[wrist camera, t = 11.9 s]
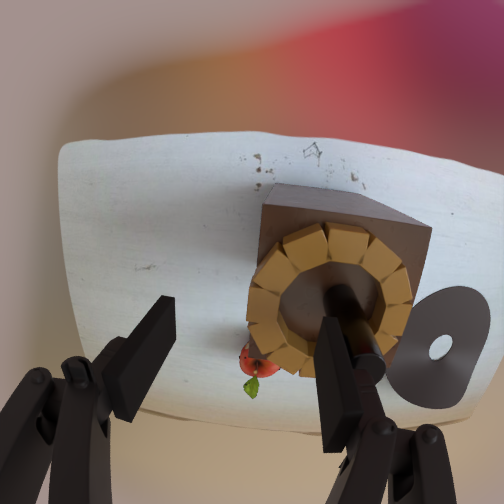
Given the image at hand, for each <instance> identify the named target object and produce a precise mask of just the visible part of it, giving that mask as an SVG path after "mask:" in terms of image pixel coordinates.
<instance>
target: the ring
mask: <svg viewBox="0 0 504 504" xmlns="http://www.w3.org/2000/svg"><path fill="white" fill-rule="evenodd" d="M329 261H331V262H339V263H347V264H355V265H359V266H360V267H362V268H363V269H364V270H365V271H366V272H368V273H369V274H370V275H371V276H372V277H374V281H375V284H376V288H377V291H378V297H377V301H376V304H375V308H374V311H373V314H372V317H371V319H370V320H369V321H368V322H369V325H370V327H371V329H372V331H373V334H374V336H375V338H376V340H377V343H378V345H379V347H380V350H381V352H382V355H384V354H385V353H386V352H388V351H389V350H390V349H391V348H392V347H393V346H394V345H395V344H396V343H397V342H398V340H397V338H396V336H402V334H403V331H404V328H405V326H406V323H407V320H408V317H409V314H410V311H411V308H412V304H411V302H410V301H409V300H411V299H412V298H413V297H412V292H411V287H410V283H409V278H408V274H407V270H406V267H405V266H404V265H403V264H402V263H401V262H402V260H401V259H400V258H399V257H398V256H397V255H396V254H395V253H394V252H393V251H392V250H390V249H389V248H388V247H387V246H386V245H385V244H384V243H383V242H382V241H380V240H379V239H378V238H377V237H376V236H375V235H374V234H372V233H371V232H370V231H369V230H367V232H366V231H365V230H364V229H363V228H362V227H358V226H351V225H345V224H338V223H331V222H326V223H325V228H324V232H323V230H322V228H321V226H320V224H319V223H316V224H314V225H311V226H309V227H306V228H304V229H302V230H299V231H297V232H294V233H292V234H289V235H287V236H284V237H283V245H282V244H281V243H279V242H276V244H275V245H274V246H273V248H272V249H271V250H270V251H269V253H268V254H267V255H266V257H265V258H264V259H263V260H262V262H261V263H260V264H259V266H258V267H257V268H256V270H255V273H254V275H253V277H252V280H251V283H250V287H249V295H248V305H247V315H246V321H249V322H248V326H247V327H248V329H249V331H250V333H251V335H252V337H253V339H254V340H255V342H256V344H257V346H258V348H259V350H260V352H261V353H262V354H266V353H267V357H266V359H267V360H269V361H271V362H272V363H274V364H276V365H277V366H279V367H281V368H282V369H284V370H286V371H288V372H289V373H291V374H293V375H294V374H295V373H296V372H297V371H298V370H299V376H300V377H311V378H316V377H315V369H314V362H313V355H314V351H315V347H316V343H317V342H310V341H306V340H305V339H303V338H302V337H300V336H299V335H297V334H296V333H294V332H292V331H291V330H289V329H288V328H287V326H286V324H285V321H284V319H283V317H282V315H281V313H280V311H279V305H280V298H281V294H282V293H283V292H284V291H285V290H286V289H287V287H288V286H289V285H290V284H291V283H292V282H293V280H294V279H295V278H296V277H297V276H298V274H299V273H301V272H303V271H306V270H309V269H311V268H314V267H316V266H319V265H321V264H324V263H326V262H329Z"/></svg>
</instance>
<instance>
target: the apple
mask: <svg viewBox="0 0 504 504" xmlns="http://www.w3.org/2000/svg"><path fill="white" fill-rule="evenodd" d="M248 350H249V342H248V343H247V344H246V345H245V346H244V347H243V349H242V351H241V354H240V356H239V359H240V362H239V363H240V368H241V369H242V371H243V372H244V373H245V374H247V375H250V376H253V378H251V379H250V380H248V381H247V382H246V383H245V384H244V386H243V388H244V391H245V392H246V393H247V394H248V395H249V396H250V397H251V398H252V399H253V398H255V397H256V396H257V393H258V387H259V382H258V379H257V377H259V378H264V377H268V376H271V375H273V374H274V373H275V372H277V371H278V370H280V368H281V367H279V366H277V365H276V364H274V363H272V362H271V361H269V360H261V359H254V358H248ZM256 392H257V393H256Z"/></svg>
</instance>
